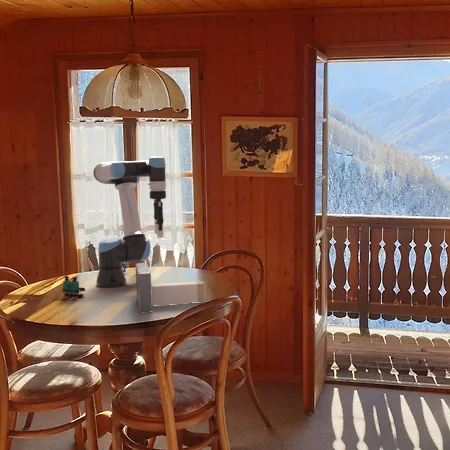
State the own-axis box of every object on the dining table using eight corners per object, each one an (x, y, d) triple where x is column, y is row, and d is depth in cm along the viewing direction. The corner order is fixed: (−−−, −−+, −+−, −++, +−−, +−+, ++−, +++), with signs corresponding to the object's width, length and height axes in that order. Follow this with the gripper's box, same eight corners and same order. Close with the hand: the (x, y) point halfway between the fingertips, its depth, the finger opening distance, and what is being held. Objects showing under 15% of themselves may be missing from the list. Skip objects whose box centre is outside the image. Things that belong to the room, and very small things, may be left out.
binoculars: (88, 275, 297) (75, 277, 288) (87, 297, 298) (75, 300, 288) (72, 274, 301) (59, 276, 291) (71, 295, 301) (59, 298, 292)
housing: (140, 313, 266) (138, 273, 264) (136, 299, 290) (135, 263, 287) (151, 312, 267) (150, 273, 265) (147, 298, 291) (146, 262, 288)
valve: (102, 273, 350) (118, 275, 343) (102, 261, 349) (118, 263, 342) (111, 270, 355) (127, 273, 348) (110, 259, 354) (126, 261, 348)
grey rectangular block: (153, 306, 277) (152, 286, 275) (152, 303, 281) (151, 284, 280) (204, 303, 281) (203, 283, 280) (202, 300, 286) (202, 281, 285)
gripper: (147, 188, 302) (148, 232, 304) (151, 192, 277) (153, 239, 280) (163, 188, 303) (164, 231, 306) (168, 192, 279) (170, 239, 282)
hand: (159, 235), depth 293 cm, fingers open, 13 cm apart
